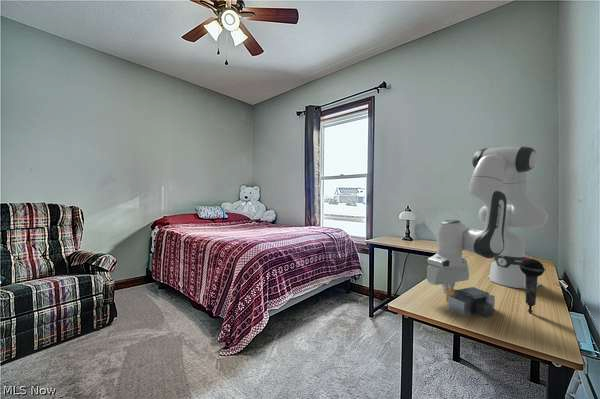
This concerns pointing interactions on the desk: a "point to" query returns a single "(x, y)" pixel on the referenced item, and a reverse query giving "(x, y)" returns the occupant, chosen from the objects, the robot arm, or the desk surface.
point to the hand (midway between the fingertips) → (448, 292)
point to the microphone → (531, 279)
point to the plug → (476, 305)
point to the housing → (468, 300)
